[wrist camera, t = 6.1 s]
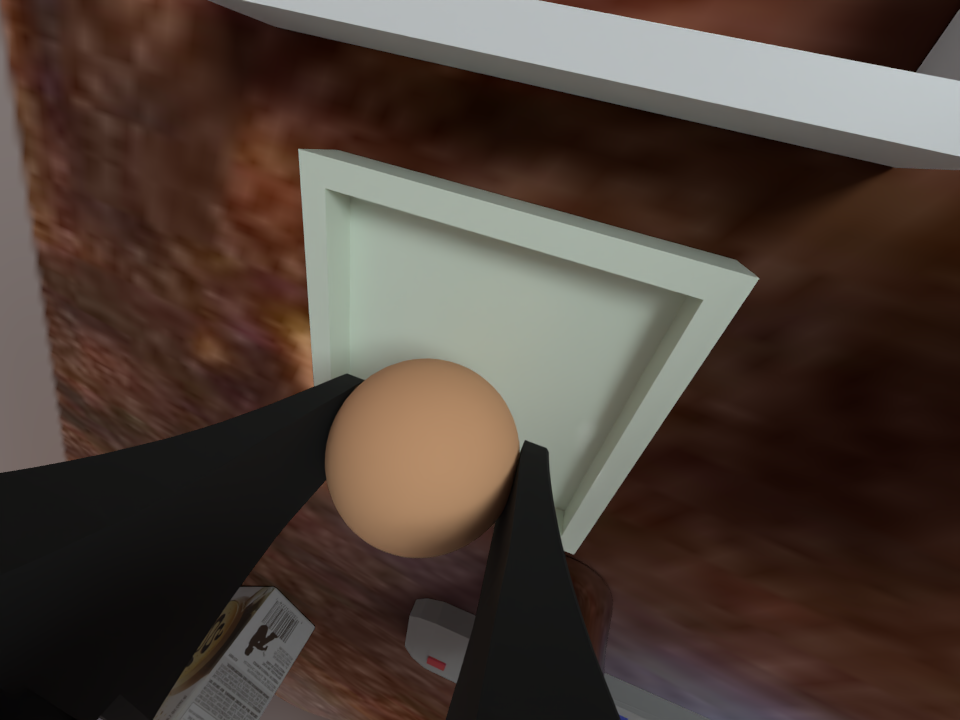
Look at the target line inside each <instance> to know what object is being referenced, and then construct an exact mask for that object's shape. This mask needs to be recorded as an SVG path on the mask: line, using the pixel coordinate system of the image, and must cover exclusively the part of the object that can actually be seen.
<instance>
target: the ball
mask: <svg viewBox="0 0 960 720" xmlns="http://www.w3.org/2000/svg"><path fill="white" fill-rule="evenodd" d="M519 457H520V444H519V438H518V432H517V428H516V425H515V422H514V419H513V416H512V414H511V412H510V410H509V408H508V406H507V404H506V402H505V401H504V400H503V398H502V397H501V395H500V394H499V393H498V392H497V390H496V389H495V388H494V387H493V386H492V385H491V384H490V383H489V382H488V381H486V380H485V379H484V378H483V377H481V376H480V375H479V374H477V373H476V372H474V371H472V370H471V369H469V368H466V367H464V366H462V365H459V364H456V363H453V362H450V361H445V360H440V359H431V358H426V359H412V360H407V361H402V362H399V363H396V364H393V365H390V366H387V367H385V368H384V369H382V370H380V371H378V372H376V373H374V374H373V375H371V376H370V377H368V378H367V379H366V380H365V381H363V382H362V383H361V384H360V385H359V386H357V387H356V388H355V390H354V391H353V392H352V393H351V394H350V395H349V397H348V398H347V399H346V400H345V401H344V403H343V405H342V406H341V408H340V409H339V411H338V413H337V415H336V416H335V418H334V421H333V424H332V426H331V429H330V432H329V435H328V439H327V444H326V451H325V473H326V480H327V485H328V489H329V492H330V495H331V498H332V501H333V503H334V505H335V507H336V509H337V511H338V512H339V514H340V516H341V517H342V519H343V520H344V522H345V523H346V524H347V525H348V527H349V528H350V529H351V530H352V531H353V532H354V533H356V534H357V535H358V536H359V537H360V538H362V539H363V540H364V541H365V542H367V543H368V544H370V545H372V546H374V547H375V548H377V549H379V550H382V551H384V552H387V553H390V554H393V555H397V556H401V557H408V558H429V557H435V556H440V555H444V554H448V553H451V552H453V551H455V550H458V549H460V548H462V547H464V546H466V545H468V544H469V543H471V542H472V541H474V540H475V539H477V538H478V537H480V536H481V535H482V534H483V533H484V532H485V531H487V530H488V529H489V528H490V527H491V526H492V525H493V524H494V523H495V521H496V520H497V519H498V517H499V516H500V515H501V513H502V512H503V510H504V508H505V505H506V503H507V500H508V497H509V494H510V491H511V487H512V483H513V480H514V476H515V472H516V468H517V465H518V461H519Z"/></svg>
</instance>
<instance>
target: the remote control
mask: <svg viewBox="0 0 960 720" xmlns="http://www.w3.org/2000/svg"><path fill="white" fill-rule="evenodd" d="M475 617H476V616H475V615H473V614H470V613H468V612H466V611H464V610H461V609H459V608H457V607H455V606H452V605H450V604H448V603H445V602H442V601H437V600H433V599H428V598H426V599H417V600H416V602H415V604H414V606H413V609H412V611H411V614H410V616H409V623H408V629H407V635H406V641H405V647H406V649H407V650H408V652H409V653H410V655H411V657H412V658H413V659H415V660H416V661H417V662H418V663H419V664H421V665H422V666H423V667H424V668H426V669H428V670H430V671H432V672H434V673H436V674H438V675H440V676H442V677H444V678H446V679H449V680H451V681H453V682H455V683H457V680H458V677H459V673H460V670H461V666H462V663H463V660H464V656H465V653H466V649H467V646H468V642H469V639H470V636H471V632H472V629H473V625H474V621H475ZM604 678H605V680H606V683H607V685H608V688H609V691H610V693H611V696H612V698H613V701H614V703H615V706H616V709H617V711H618V714H619V716H620V719H621V720H710V719H708V718H705V717H703V716H701V715H699V714H696V713H694V712H692V711H690V710H687V709H685V708H683V707H681V706H678V705H676V704H674V703H672V702H669V701H667V700H665V699H663V698H660V697H658V696H656V695H653V694H651V693H649V692H647V691H644V690H642V689H640V688H638V687H635V686H633V685H631V684H629V683H626V682H624V681H622V680H620V679H617V678H615V677H613V676H611V675H608V674H606V673H604Z"/></svg>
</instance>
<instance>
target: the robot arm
mask: <svg viewBox="0 0 960 720" xmlns="http://www.w3.org/2000/svg"><path fill="white" fill-rule="evenodd" d="M363 381H365V380H363V379H361V378H358V377H355V376H353V375H350V374H344V375H341V376H339V377H336V378H334V379H331V380H329V381H326V382H324V383H322V384H319V385H317V386H314V387H312V388H310V389H307V390H305V391H302V392H300V393H298V394H295V395H293V396H290V397H288V398H285V399H283V400H280V401H278V402H275V403H273V404H270V405H268V406H265V407H262V408H259V409H257V410H254V411H251V412H248V413H246V414H243V415H240V416H237V417H235V418H232V419H229V420H226V421H223V422H220V423H217V424H214V425H211V426H208V427H205V428H202V429H198V430H195V431H191V432H188V433H185V434H181V435H178V436H174V437H171V438H167V439H163V440H159V441H155V442H151V443H147V444H143V445H139V446H135V447H130V448H126V449H122V450H118V451H114V452H110V453H105V454H101V455H96V456H91V457H86V458H81V459H76V460H71V461H66V462H61V463H56V464H50V465H45V466H40V467H34V468H28V469H22V470H17V471H10V472H4V473H0V720H97V719H98V718H101V719H103V720H153V718H154V717H155V715H156V714H157V712H158V710H159V709H160V707H161V705H162V704H163V702H164V701H165V699H166V697H167V696H168V694H169V693H170V691H171V690H172V688H173V686H174V685H175V683H176V682H177V680H178V679H179V677H180V675H181V674H182V672H183V671H184V669H185V668H186V666H187V664H188V663H189V661H190V660H191V658H192V657H193V655H194V653H195V652H196V650H197V649H198V647H199V646H200V644H201V643H202V641H203V640H204V639H205V637H206V636H207V634H208V633H209V631H210V630H211V628H212V627H213V625H214V624H215V622H216V621H217V619H218V618H219V616H220V615H221V613H222V612H223V610H224V609H225V607H226V606H227V604H228V603H229V602H230V600H231V599H232V597H233V596H234V595H235V593H236V592H237V590H238V589H239V587H240V586H241V585H242V583H243V582H244V580H245V579H246V578H247V576H248V575H249V573H250V572H251V570H252V569H253V568H254V566H255V565H256V564H257V562H258V561H259V560H260V558H261V557H262V556H263V554H264V553H265V552H266V550H267V549H268V547H269V546H270V545H271V543H272V542H273V541H274V539H275V538H276V537H277V536H278V534H279V533H280V532H281V531H282V529H283V528H284V527H285V526H286V525H287V523H288V522H289V521H290V520H291V519H292V518H293V516H294V515H295V514H296V513H297V512H298V511H299V510H300V509H301V507H302V506H303V505H304V504H305V503H306V502H307V501H308V500H309V498H310V497H311V496H312V495H313V494H314V493H315V492H316V491H317V489H318V488H319V487H320V486H321V485H322V484H323V483H324V482H325V480H326V473H325V451H326V444H327V439H328V435H329V432H330V429H331V426H332V424H333V421H334V418H335V416H336V415H337V413H338V411H339V409H340V408H341V406H342V405H343V403H344V401H345V400H346V399H347V398H348V397H349V395H350V394H351V393H352V392H353V391H354V390H355V388H356V387H357V386H359V385H360V384H361V383H362V382H363ZM446 720H621V719H620V716H619V714H618V711H617V709H616V706H615V703H614V701H613V698H612V696H611V693H610V691H609V688H608V685H607V683H606V680H605V678H604V675H603V673H602V670H601V667H600V665H599V662H598V660H597V657H596V654H595V652H594V649H593V646H592V643H591V640H590V637H589V634H588V631H587V628H586V625H585V622H584V619H583V616H582V613H581V610H580V607H579V604H578V600H577V597H576V594H575V591H574V587H573V584H572V580H571V576H570V573H569V569H568V565H567V561H566V557H565V553H564V549H563V545H562V541H561V536H560V532H559V527H558V521H557V516H556V511H555V506H554V500H553V493H552V486H551V478H550V467H549V452H548V450H547V448H545V447H543V446H540V445H537V444H535V443H532V442H529V441H527V440H525V441H524V443H523V446H522V448H521V451H520V457H519V461H518V465H517V468H516V472H515V476H514V480H513V483H512V487H511V491H510V494H509V497H508V500H507V503H506V505H505V508H504V510H503V512H502V513H501V515H500V516H499V517H498V519H497V520H496V523H495V527H494V532H493V537H492V542H491V546H490V551H489V556H488V561H487V565H486V570H485V575H484V580H483V585H482V589H481V594H480V599H479V604H478V608H477V613H476V617H475V621H474V625H473V629H472V632H471V636H470V639H469V642H468V646H467V649H466V653H465V656H464V660H463V663H462V666H461V670H460V673H459V677H458V680H457V683H456V687H455V690H454V693H453V697H452V700H451V704H450V707H449V710H448V714H447V717H446Z"/></svg>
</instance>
